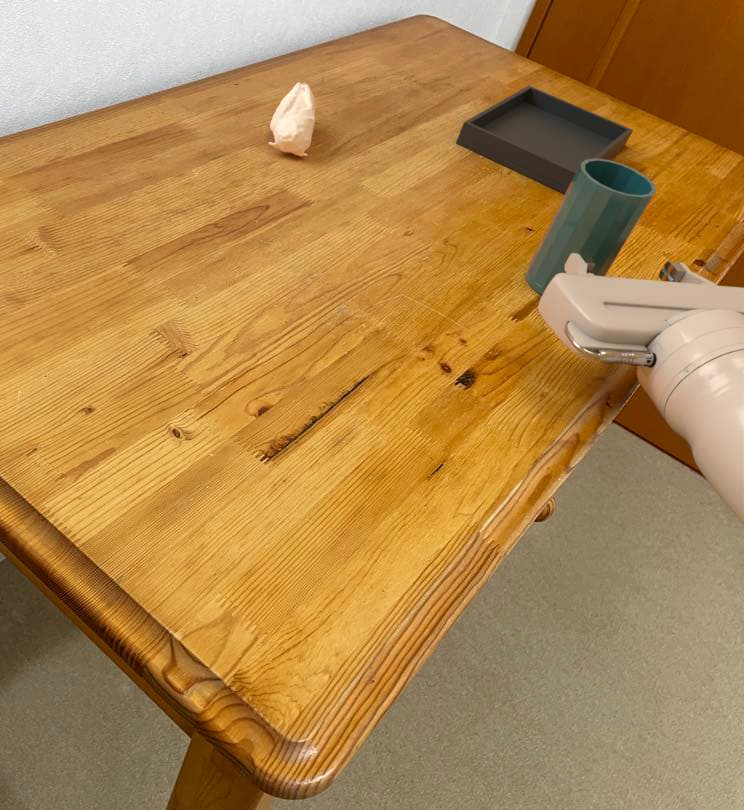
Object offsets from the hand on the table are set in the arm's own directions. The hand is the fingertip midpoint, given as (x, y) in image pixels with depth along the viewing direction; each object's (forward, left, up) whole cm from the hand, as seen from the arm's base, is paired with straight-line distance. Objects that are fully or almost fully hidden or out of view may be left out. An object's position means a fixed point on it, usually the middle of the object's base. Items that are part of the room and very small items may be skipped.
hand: (622, 264), depth 75 cm
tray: (-12, -38, -7) cm, 41 cm away
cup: (0, -6, -7) cm, 9 cm away
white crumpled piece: (+23, -31, -7) cm, 40 cm away
